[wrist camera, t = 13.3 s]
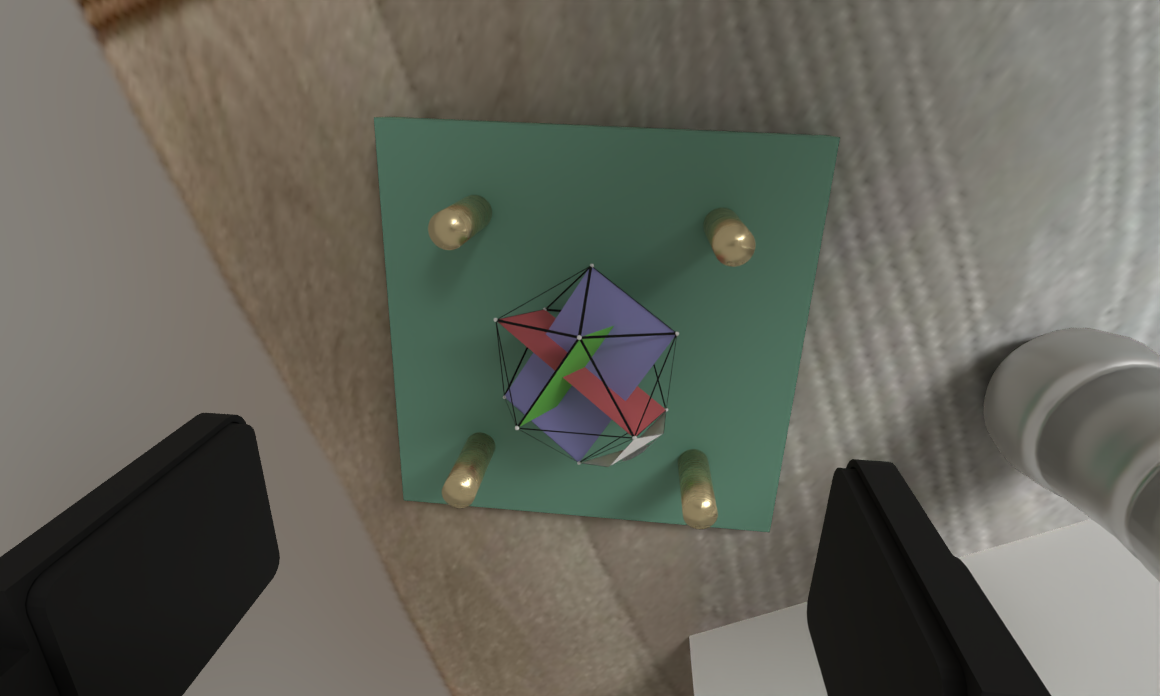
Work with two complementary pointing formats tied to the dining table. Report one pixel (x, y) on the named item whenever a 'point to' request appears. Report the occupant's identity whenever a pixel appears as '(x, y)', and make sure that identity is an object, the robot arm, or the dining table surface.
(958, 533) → the dining table surface
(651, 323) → the geometric puzzle
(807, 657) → the white u-channel brackets
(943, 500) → the dining table surface
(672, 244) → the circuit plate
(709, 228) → the brass standoffs
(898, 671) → the robot arm
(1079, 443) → the plastic bottle
